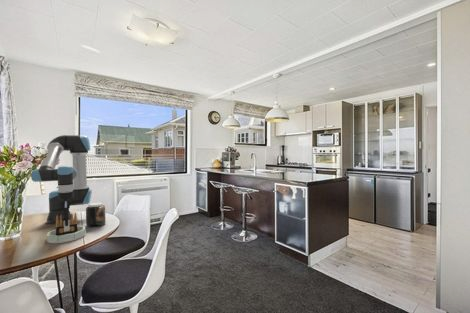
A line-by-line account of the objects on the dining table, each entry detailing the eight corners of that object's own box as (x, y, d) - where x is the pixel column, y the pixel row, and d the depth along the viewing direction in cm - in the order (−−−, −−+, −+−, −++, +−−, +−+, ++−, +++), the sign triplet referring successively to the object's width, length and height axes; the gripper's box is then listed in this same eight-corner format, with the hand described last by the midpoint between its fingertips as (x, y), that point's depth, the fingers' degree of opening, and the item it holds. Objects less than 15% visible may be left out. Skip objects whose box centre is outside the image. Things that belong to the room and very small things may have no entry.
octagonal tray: (48, 235, 139) (48, 229, 139) (85, 229, 150) (85, 223, 150) (44, 246, 124) (44, 239, 124) (86, 238, 135) (86, 231, 135)
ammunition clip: (55, 235, 133) (55, 215, 133) (56, 235, 135) (55, 215, 134) (77, 231, 139) (77, 212, 139) (77, 231, 141) (77, 212, 141)
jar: (84, 228, 152) (84, 206, 152) (87, 223, 163) (87, 203, 163) (104, 226, 157) (104, 204, 157) (106, 221, 168) (106, 201, 168)
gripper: (58, 190, 140) (59, 228, 141) (57, 194, 128) (58, 235, 129) (73, 189, 145) (74, 225, 145) (73, 192, 132) (74, 232, 133)
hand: (66, 230), depth 137 cm, fingers open, 2 cm apart
